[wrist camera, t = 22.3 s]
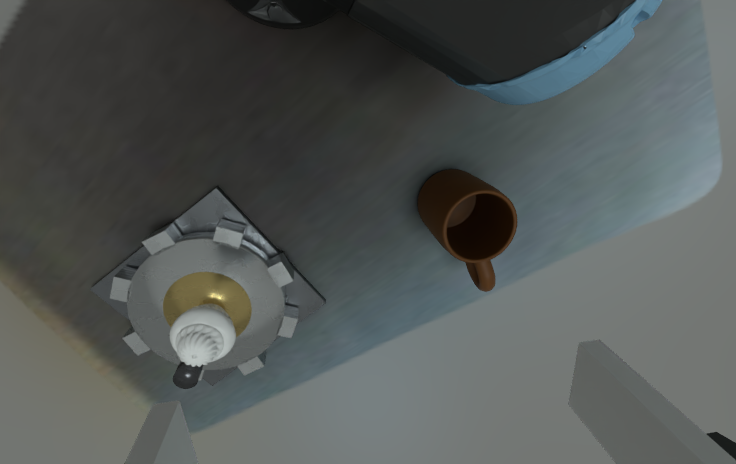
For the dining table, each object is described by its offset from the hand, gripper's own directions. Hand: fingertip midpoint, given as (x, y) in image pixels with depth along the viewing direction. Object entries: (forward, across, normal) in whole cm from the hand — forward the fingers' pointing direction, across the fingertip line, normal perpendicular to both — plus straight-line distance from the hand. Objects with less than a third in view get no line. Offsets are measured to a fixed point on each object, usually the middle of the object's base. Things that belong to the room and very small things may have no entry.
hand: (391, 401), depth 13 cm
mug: (+32, +13, -6) cm, 35 cm away
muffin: (+28, -15, -13) cm, 34 cm away
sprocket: (+31, -15, -12) cm, 36 cm away
